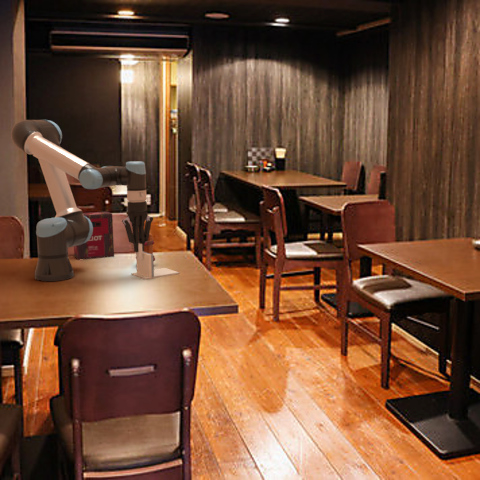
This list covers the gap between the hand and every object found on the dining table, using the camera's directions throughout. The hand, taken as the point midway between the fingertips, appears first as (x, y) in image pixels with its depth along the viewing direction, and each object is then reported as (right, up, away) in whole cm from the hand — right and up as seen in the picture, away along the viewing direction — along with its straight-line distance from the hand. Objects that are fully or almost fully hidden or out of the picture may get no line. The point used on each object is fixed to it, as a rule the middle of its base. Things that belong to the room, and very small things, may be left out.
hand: (139, 259), depth 265 cm
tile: (+2, -6, +2) cm, 7 cm away
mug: (-1, -3, +24) cm, 24 cm away
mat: (+6, -6, +6) cm, 10 cm away
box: (-27, 0, +42) cm, 51 cm away
